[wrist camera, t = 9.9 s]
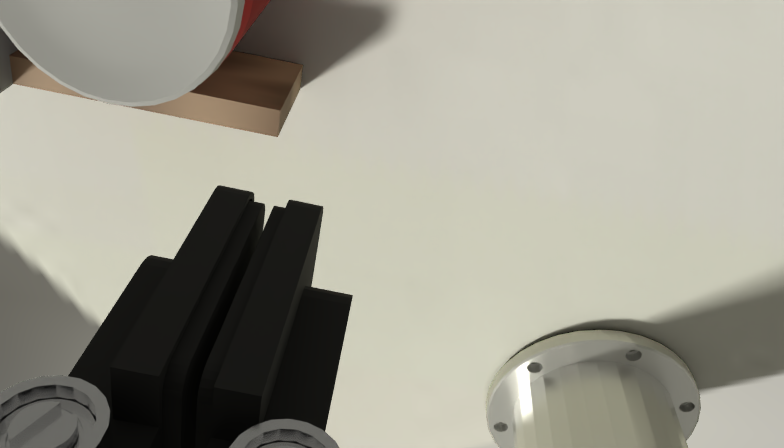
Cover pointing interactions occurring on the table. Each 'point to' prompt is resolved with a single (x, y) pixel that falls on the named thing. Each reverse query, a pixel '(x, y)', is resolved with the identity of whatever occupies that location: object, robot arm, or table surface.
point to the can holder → (196, 90)
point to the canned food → (128, 43)
